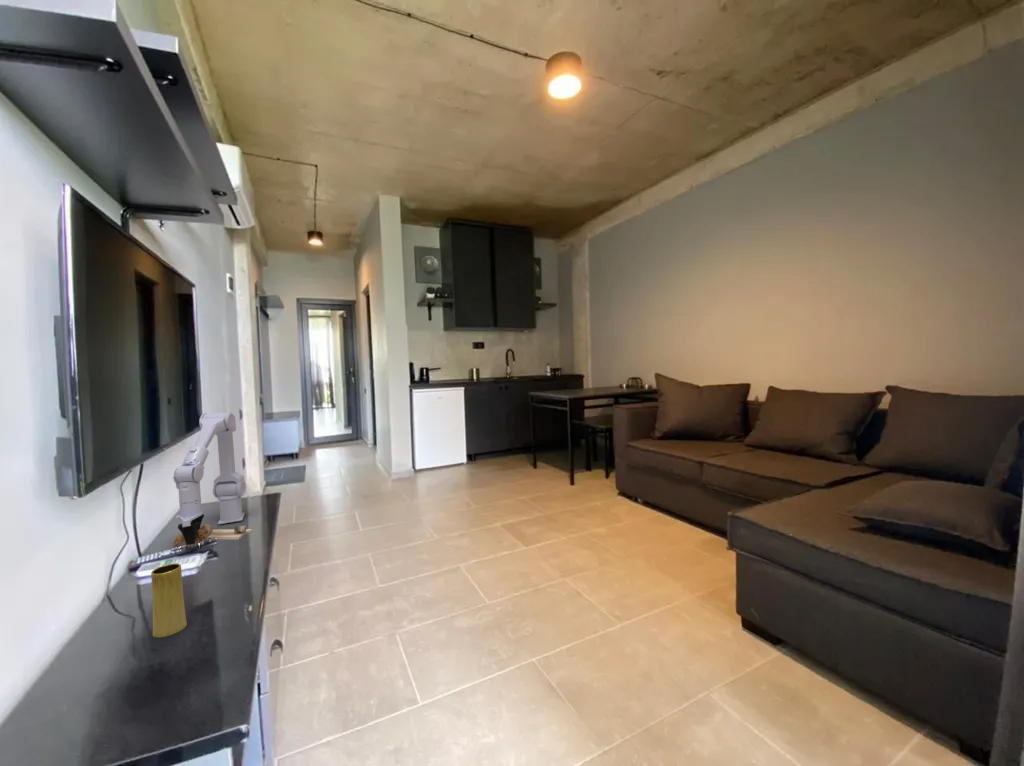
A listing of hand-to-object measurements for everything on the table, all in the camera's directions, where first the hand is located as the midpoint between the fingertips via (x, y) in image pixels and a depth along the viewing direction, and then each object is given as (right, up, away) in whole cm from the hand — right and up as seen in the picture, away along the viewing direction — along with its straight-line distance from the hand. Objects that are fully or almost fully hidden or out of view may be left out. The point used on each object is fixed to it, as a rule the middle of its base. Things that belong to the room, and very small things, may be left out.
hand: (192, 540), depth 140 cm
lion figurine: (0, -3, 0) cm, 3 cm away
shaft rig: (+1, -2, +11) cm, 11 cm away
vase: (+29, -4, -45) cm, 53 cm away
